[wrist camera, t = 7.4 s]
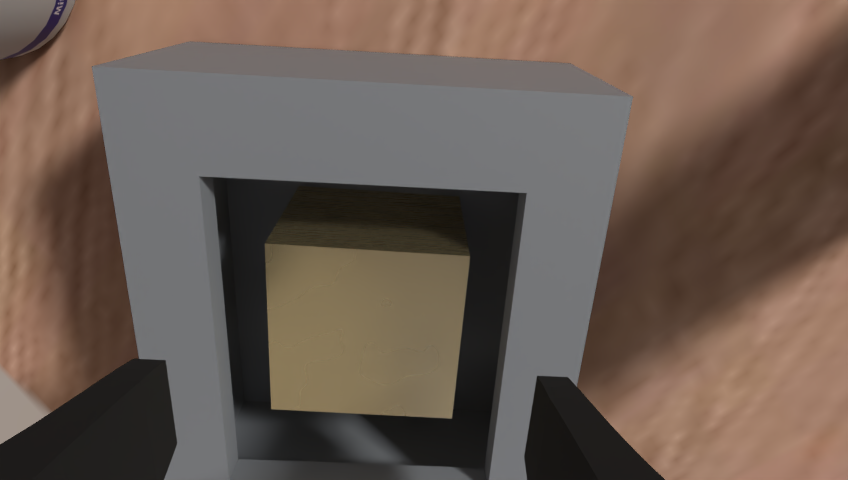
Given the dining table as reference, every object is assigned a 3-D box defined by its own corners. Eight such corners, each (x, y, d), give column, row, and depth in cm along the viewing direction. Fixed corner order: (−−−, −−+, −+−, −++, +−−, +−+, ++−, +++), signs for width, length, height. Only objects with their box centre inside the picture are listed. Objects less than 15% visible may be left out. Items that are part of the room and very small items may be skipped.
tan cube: (445, 332, 19) (451, 418, 15) (300, 324, 18) (271, 408, 15) (459, 196, 17) (470, 256, 13) (298, 186, 17) (264, 243, 13)
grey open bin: (516, 422, 20) (544, 549, 16) (225, 411, 20) (167, 537, 16) (570, 63, 16) (632, 96, 11) (189, 41, 15) (91, 66, 11)
